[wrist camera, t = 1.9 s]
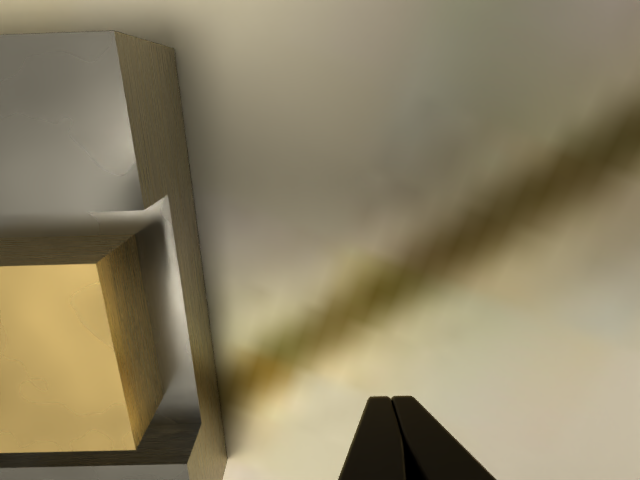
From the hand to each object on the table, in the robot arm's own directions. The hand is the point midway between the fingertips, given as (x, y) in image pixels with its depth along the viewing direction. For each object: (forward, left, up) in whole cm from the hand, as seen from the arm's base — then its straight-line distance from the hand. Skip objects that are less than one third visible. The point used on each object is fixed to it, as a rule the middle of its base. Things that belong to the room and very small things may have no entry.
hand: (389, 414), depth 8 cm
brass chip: (0, +8, -4) cm, 9 cm away
